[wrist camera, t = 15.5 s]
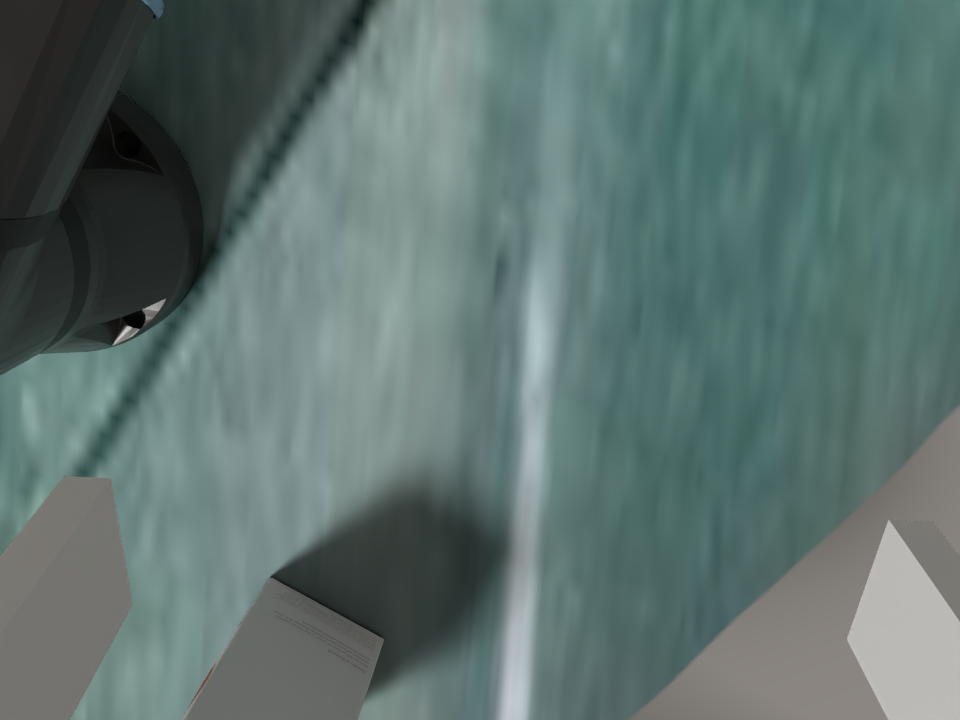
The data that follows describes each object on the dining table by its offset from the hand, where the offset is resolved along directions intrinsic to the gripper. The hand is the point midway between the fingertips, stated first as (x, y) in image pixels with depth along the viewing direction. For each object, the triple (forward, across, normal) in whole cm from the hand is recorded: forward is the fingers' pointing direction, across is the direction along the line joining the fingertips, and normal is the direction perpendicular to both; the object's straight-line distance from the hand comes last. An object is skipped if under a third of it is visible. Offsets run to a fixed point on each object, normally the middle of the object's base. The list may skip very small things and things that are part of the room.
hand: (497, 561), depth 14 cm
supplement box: (+30, -11, -34) cm, 46 cm away
